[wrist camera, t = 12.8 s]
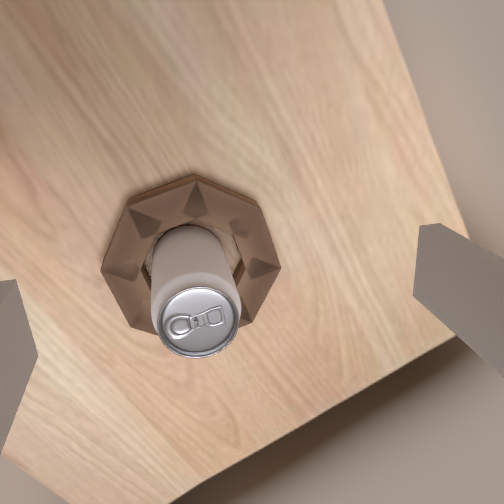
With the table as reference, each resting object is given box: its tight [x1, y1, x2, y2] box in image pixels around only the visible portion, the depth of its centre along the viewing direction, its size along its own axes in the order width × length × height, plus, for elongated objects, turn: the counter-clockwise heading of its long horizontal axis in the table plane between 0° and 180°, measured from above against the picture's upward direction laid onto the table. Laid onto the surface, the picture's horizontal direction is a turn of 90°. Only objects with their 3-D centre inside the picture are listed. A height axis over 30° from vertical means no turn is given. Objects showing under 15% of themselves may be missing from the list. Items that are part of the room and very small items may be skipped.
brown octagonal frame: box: [100, 174, 281, 336], centre depth 41 cm, size 14×14×2 cm
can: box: [151, 226, 241, 358], centre depth 36 cm, size 6×6×12 cm
